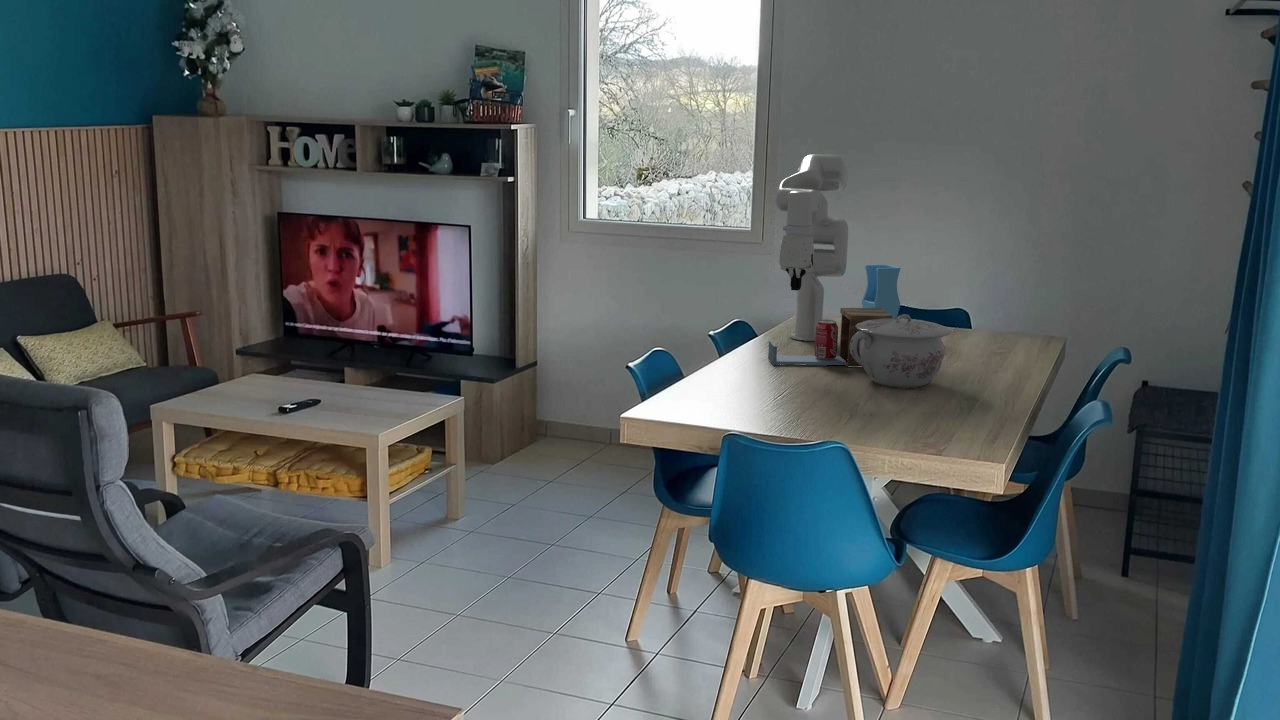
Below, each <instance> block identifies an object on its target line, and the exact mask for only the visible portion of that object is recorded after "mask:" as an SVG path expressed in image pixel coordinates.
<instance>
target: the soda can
mask: <svg viewBox="0 0 1280 720" xmlns="http://www.w3.org/2000/svg"><path fill="white" fill-rule="evenodd" d="M838 340H839V326H838V323H837V321H836V320H833V319H823V320H819V321H818V324H817V326H816V333H815V341H814V356H816V357H817V358H818V359H821V360H833V359H834V358H835V357H836V356H837V352H838Z"/></svg>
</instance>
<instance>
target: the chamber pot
mask: <svg viewBox="0 0 1280 720" xmlns="http://www.w3.org/2000/svg"><path fill="white" fill-rule="evenodd" d="M856 328H857V329H858V330H860V331H858V332H857V333H856V334H855V335H854V336H852V338H851V340H850V346H849V349H850V353H851V355H852V356H853V358H854V360H855V361H856V362H857V363H859V364H860V365H861V366H862V367H861V368H863V369H864V371H865V373H866V375H867V377H868V378H869V380H871V381H872V382H874V383H876V384H879V385H880V384H881V386H883V385H885V386H884V387H887V386H890V387H889V388H893V387H898V388H897V389H914V387H916V388H920V387H923V386H926V385H929V384H930V383H931V382H932V381H933V379H934V378H935V377H936V375H937V374H938V372H939V371H940V369H941V368H942V365H943V361H944V358H945V351H946V350H945V349H946V345H945V343H944V342H943V340H942V338H943V337H946V336H949V335H951V333H952V330H951V329H950V328H949V327H947V326H944V325H941V324H939V323H936V322H933V321H931V322H930V321H927V320H922V319H916V318H915V319H914V318H911V316H910V314H907V313H906V314H905V313H904V314H900V315H897V318H883V319H872V320H867V321H863V322H859V323H858V324H857V325H856ZM859 339H861V340H860V342H859V354H860V357H859V355H858V353H857V343H858V340H859Z"/></svg>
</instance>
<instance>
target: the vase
mask: <svg viewBox="0 0 1280 720" xmlns="http://www.w3.org/2000/svg"><path fill="white" fill-rule="evenodd" d="M864 269H865V273H866V274H865V275H866V281H867V283H866V288H865V289H866V290H865V292H864V295H863V297H862V299H861V304H862V305H861V306H862V308H881V309H882V310H884V311H886V312H887V313H889V314H890V315H892V318H897V317H898V316H899V311H900V308H901V301H900V297H899V292H898V279H899V274H900V272H901V267H900V266H896V265H893V264H884V263H883V264H864Z"/></svg>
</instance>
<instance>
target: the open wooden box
mask: <svg viewBox="0 0 1280 720" xmlns="http://www.w3.org/2000/svg"><path fill="white" fill-rule="evenodd" d="M840 314H841V322H840V337H839V340H840V341H839V355H838V356H840V357H841V358H842V359H848V360H846V365H847V366H861V365H860V364H859V363H857V362H856V361H855V360H854V358H853V356H852V355H851V353H850V349H849V346H850V340H851V338H852V336H854V335H855V334H856V333H857V332H858V331H860V330H858V329H857V328H856V325H857V324H858V323H859V322H863V321H867V320H872V319H883V318H892V315H890V314H889V313H887V312H886V311H884V310H882V309H881V308H863V307H840ZM860 340H861V339H859V340H858V343H857V353H858V355H859V357H860V354H859V342H860ZM847 366H846V367H847Z"/></svg>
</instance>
